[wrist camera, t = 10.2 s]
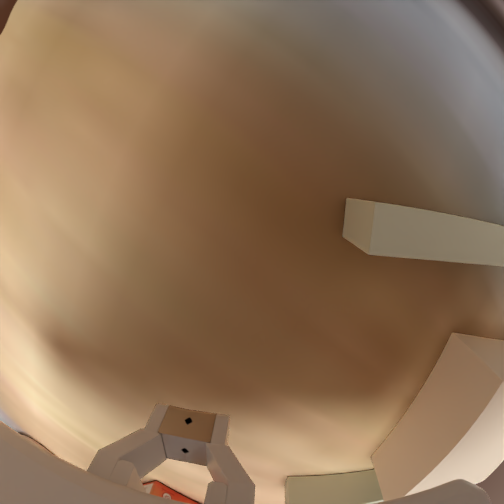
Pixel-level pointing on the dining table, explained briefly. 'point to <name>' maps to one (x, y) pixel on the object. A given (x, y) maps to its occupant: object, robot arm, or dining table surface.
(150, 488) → the cracker box
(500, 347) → the carton
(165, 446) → the robot arm
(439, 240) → the u-shaped frame
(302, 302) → the dining table surface
